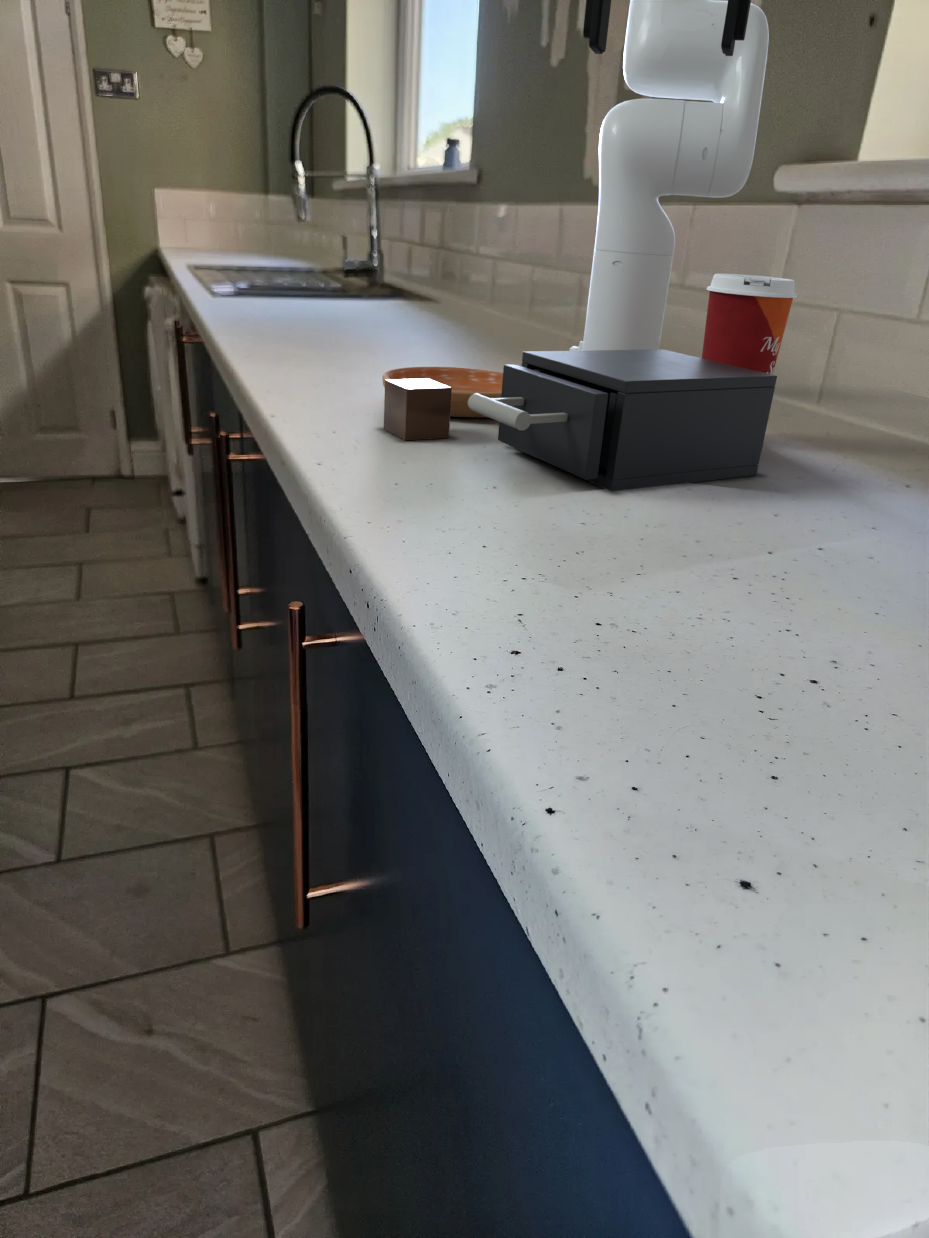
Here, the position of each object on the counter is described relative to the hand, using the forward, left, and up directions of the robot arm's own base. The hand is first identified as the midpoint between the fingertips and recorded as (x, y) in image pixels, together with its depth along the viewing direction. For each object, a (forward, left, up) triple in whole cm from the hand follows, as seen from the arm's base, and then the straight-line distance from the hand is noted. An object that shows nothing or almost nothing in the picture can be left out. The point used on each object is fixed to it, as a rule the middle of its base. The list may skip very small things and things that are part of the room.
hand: (660, 51), depth 65 cm
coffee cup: (-2, +17, -31) cm, 35 cm away
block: (-11, -13, -30) cm, 35 cm away
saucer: (-21, -3, -31) cm, 37 cm away
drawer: (+3, -5, -29) cm, 30 cm away
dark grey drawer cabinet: (+3, +1, -30) cm, 31 cm away
